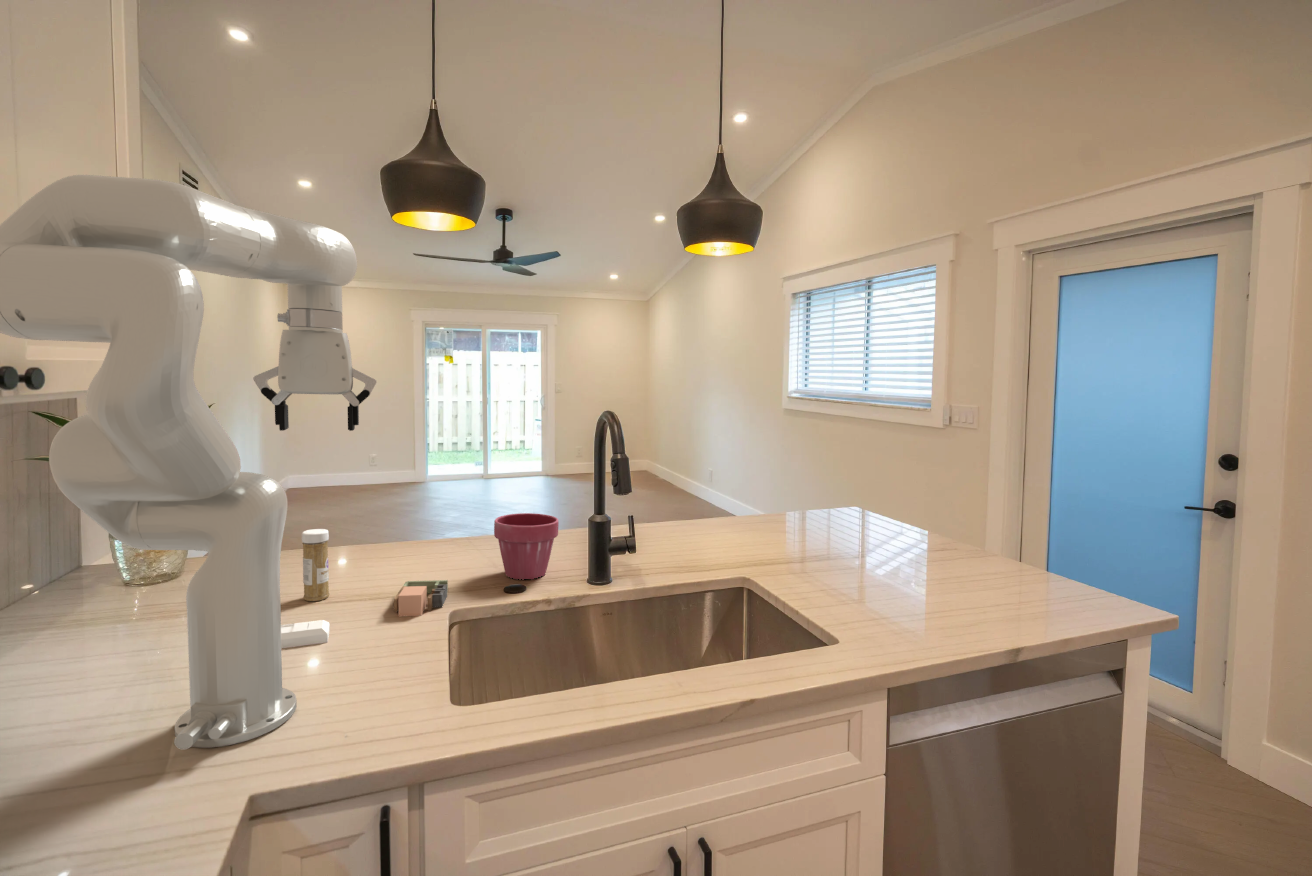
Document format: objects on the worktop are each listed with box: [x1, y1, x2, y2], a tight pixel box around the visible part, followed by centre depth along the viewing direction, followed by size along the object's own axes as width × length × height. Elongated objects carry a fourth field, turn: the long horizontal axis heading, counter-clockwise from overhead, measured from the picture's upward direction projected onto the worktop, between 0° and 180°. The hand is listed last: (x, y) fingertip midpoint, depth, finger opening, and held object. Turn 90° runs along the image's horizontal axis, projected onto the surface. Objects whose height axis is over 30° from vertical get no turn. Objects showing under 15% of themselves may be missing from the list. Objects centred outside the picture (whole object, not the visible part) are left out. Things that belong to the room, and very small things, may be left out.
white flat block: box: [281, 619, 330, 649], centre depth 99 cm, size 5×9×3 cm, turn 115°
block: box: [398, 586, 428, 617], centre depth 113 cm, size 5×4×4 cm
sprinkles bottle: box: [301, 528, 330, 602], centre depth 117 cm, size 5×5×14 cm
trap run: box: [393, 579, 449, 613], centre depth 118 cm, size 10×8×2 cm
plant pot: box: [493, 512, 559, 581], centre depth 137 cm, size 14×14×13 cm
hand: (318, 429), depth 97 cm, fingers open, 9 cm apart
